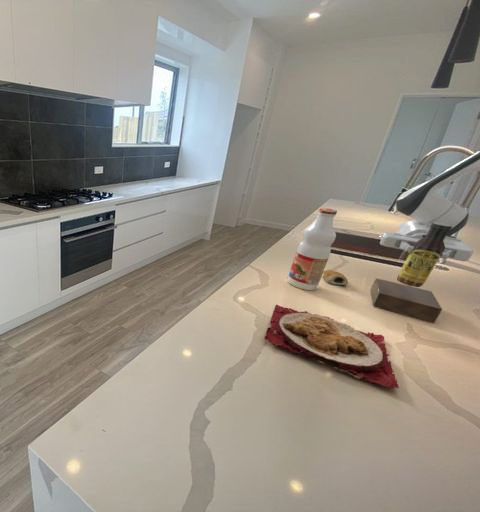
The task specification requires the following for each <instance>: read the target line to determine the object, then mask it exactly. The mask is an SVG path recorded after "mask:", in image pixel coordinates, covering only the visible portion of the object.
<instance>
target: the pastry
mask: <svg viewBox="0 0 480 512" xmlns="http://www.w3.org/2000/svg"><path fill="white" fill-rule="evenodd" d="M322 276H323V279H324V280H325V283H327V284H330V285H336V286H337V285H338V286H339V285H340V286H345V285H347V284H348V283H349V281H348V278H347V277H346V276H345V275H344V274H343V273H341V272H339V271H334V270H332V269H326V270H324V271H323V274H322Z"/></svg>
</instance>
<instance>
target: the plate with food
mask: <svg viewBox="0 0 480 512" xmlns="http://www.w3.org/2000/svg"><path fill="white" fill-rule="evenodd" d="M272 312H273V313H272V315H271V318H270V320H269V322H270V324H271V326H269V327H267V329H266V332H265V335H264V338H263V339H264V340H266V341H268V343H272V344H274V346H281V347H283V348H286V349H288V351H289V353H290V352H291V353H293V354H300V355H301V356H304V357H307V358H309V359H313V360H317V361H318V363H322V364H323V365H325V362H323V360H320V359H319V358H316V357H321V358H324V359H326V360H328V361H333V362H334V363H337V364H339V366H338V367H339V368H338V367H335V366H333V369H334V371H338V373H340V374H341V373H342V372H343V373H346V374H348V375H349V376H350V377H353V378H354V379H358V380H361V381H363V380H364V382H369V383H370V384H372V383H374V384H378V385H380V386H383V387H387V388H391V389H399V388H400V386H399V384H398V380H397V379H396V374H395V373H394V372H395V371H394V370H393V367H392V362H391V360H389V359H388V357H390V354H389V353H387V348H386V343H384V342H385V336H384V335H383V334H374V332H371V333H370V332H367V333H366V332H363V331H362V330H359V329H355V328H354V327H352V326H351V325H349V324H346V323H343V322H340V321H339V322H338V321H337V320H335V319H334V318H331V317H329V316H326V315H324V316H323V315H320V314H317V313H311V312H308V311H307V310H305V311H298V310H296V309H293V308H292V307H283V306H281V305H279V304H275V305H274V309H273V311H272ZM314 356H316V357H314Z"/></svg>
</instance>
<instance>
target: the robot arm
mask: <svg viewBox="0 0 480 512" xmlns="http://www.w3.org/2000/svg"><path fill="white" fill-rule="evenodd" d="M473 172H480V150H478V151H475V152H474V153H472V154H470V155H468V156H466V157H465V158H463V159H461V160H460V161H458V162H456V163H454V164H453V165H450V166H449V167H447V168H446V169H444V170H442V171H441V172H439V173H437V174H436V175H434V176H431V177H430V178H428V179H427V180H425V181H423V182H422V183H419V184H417V185H416V186H414V187H411V188H410V189H408V190H406V191H404V192H403V193H402V194H400V195H399V196H398V197H397V198H396V200H395V207H396V211H397V212H399V213H401V214H403V215H405V216H407V217H409V218H411V219H412V220H409V221H405V222H403V223H401V225H399V227H398V228H397V229H396V232H393V231H392V232H391V231H386V232H384V233H379V234H378V238H379V239H380V241H379V245H380V246H383V247H386V248H391V249H392V248H393V249H396V250H401V251H402V250H403V251H405V252H406V253H408V254H410V252H413V249H414V246H415V244H416V243H417V241H419V240H421V239H422V238H424V237H425V236H426V234H427V233H428V232H429V230H430V228H431V224H432V223H433V222H439V223H444V224H448V225H451V226H452V228H451V230H450V231H448V233H447V235H446V237H445V239H444V245H445V249H444V250H443V252H442V254H441V256H440V258H439V259H444V260H447V259H449V260H454V261H460V262H469V261H470V259H471V258H472V256H473V254H474V250H473V249H472V247H471V246H470V245H468V244H467V243H465V242H462V239H461V238H459V237H456V236H453V235H455V234H456V233H458V232H460V231H461V230H462V229H463V228H464V227H465V226H467V223H468V221H469V216H470V212H469V210H467V209H466V208H465V207H462V206H460V205H459V204H457V203H455V202H453V201H451V200H449V199H448V198H446V197H444V196H443V195H441V194H439V192H438V191H439V190H440V189H442V188H443V187H445V186H447V185H449V184H451V183H453V182H454V181H456V180H458V179H460V178H461V177H463V176H465V175H467V174H470V173H473Z"/></svg>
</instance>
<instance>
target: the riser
mask: <svg viewBox="0 0 480 512" xmlns="http://www.w3.org/2000/svg"><path fill="white" fill-rule="evenodd" d="M369 292H370V297H371V303H372V307H374V308H377V309H380V310H385V311H388V312H391V313H396V314H399V315H403V316H406V317H410V318H414V319H417V320H420V321H424V322H427V323H431V324H435V323H436V321H437V319H438V318H439V316H440V314H441V313H442V310H443V308H442V306H441V305H440V303H439V301H438V299H437V298H436V297H435V295H434V293H433V291H431V290H427V289H423V288H420V287H414V286H409V285H406V284H403V283H398V282H393V281H389V280H386V279H381V278H376V277H375V279H374V281H373V284H372V285H371V288H370V291H369Z"/></svg>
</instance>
